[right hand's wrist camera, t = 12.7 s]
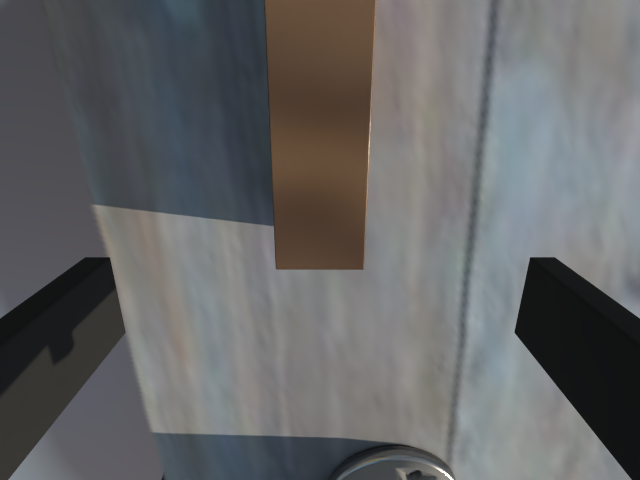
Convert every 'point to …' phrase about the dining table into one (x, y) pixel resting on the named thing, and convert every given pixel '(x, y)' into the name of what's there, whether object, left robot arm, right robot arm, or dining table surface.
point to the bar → (320, 129)
